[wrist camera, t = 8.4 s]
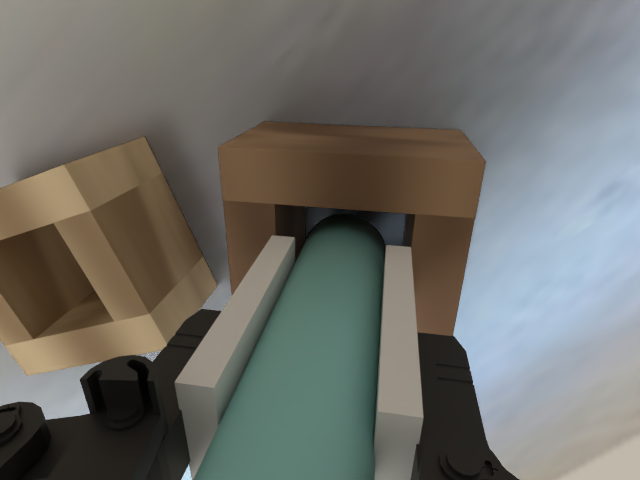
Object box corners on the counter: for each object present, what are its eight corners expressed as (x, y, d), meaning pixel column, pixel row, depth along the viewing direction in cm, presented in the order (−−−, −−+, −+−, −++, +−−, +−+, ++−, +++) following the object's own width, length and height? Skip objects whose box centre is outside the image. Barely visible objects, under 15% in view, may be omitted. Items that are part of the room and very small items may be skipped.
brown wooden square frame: (270, 284, 21) (236, 349, 16) (264, 121, 17) (217, 146, 13) (434, 301, 19) (445, 376, 15) (460, 130, 16) (485, 161, 12)
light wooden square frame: (97, 313, 23) (26, 375, 19) (16, 184, 21) (-89, 221, 16) (217, 285, 21) (169, 348, 17) (144, 136, 18) (63, 164, 14)
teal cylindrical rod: (304, 282, 16) (-14, 1097, 4) (306, 210, 15) (-185, 1089, 2) (381, 290, 16) (325, 1245, 3) (390, 218, 14) (348, 1344, 2)
